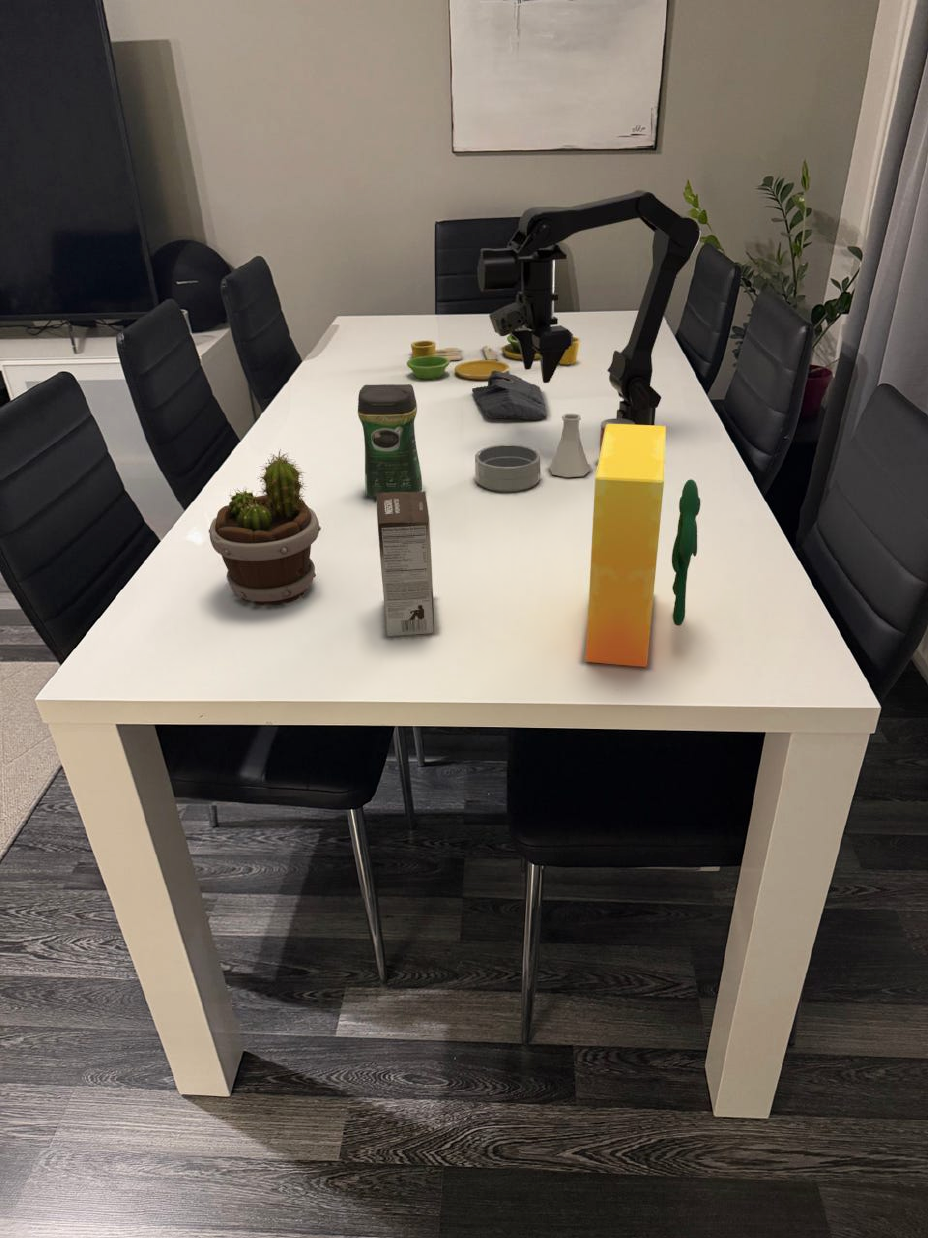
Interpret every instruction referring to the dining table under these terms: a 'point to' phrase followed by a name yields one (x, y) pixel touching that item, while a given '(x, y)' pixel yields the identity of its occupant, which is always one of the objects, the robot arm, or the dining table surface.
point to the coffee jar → (389, 438)
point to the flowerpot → (268, 538)
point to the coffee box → (406, 562)
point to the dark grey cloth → (510, 398)
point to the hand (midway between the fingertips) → (536, 375)
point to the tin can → (612, 421)
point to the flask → (570, 450)
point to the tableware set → (434, 364)
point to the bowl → (507, 467)
